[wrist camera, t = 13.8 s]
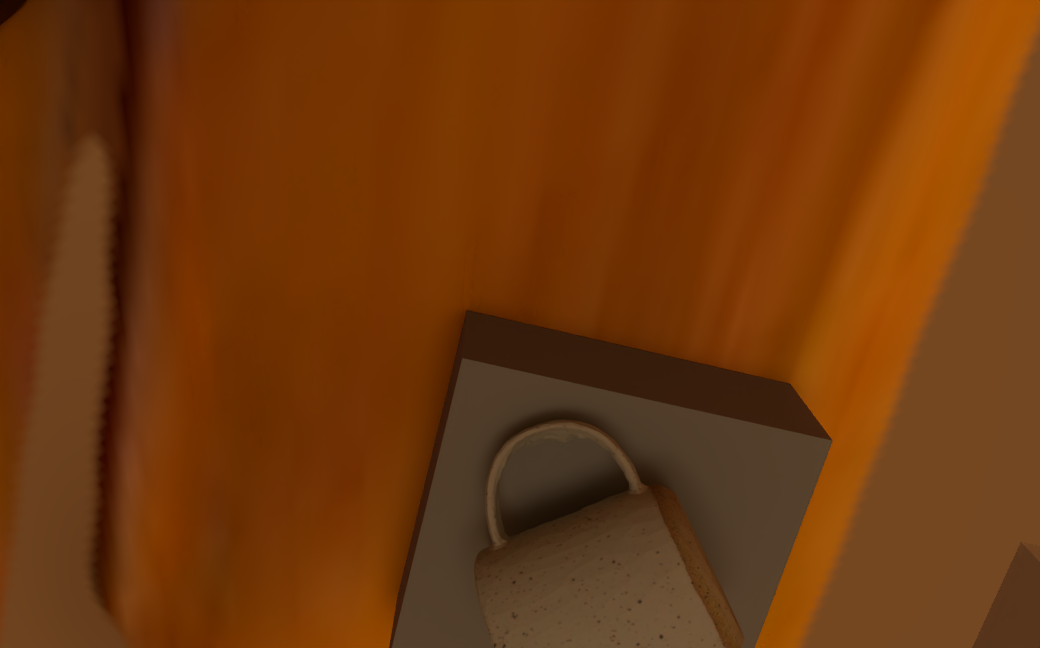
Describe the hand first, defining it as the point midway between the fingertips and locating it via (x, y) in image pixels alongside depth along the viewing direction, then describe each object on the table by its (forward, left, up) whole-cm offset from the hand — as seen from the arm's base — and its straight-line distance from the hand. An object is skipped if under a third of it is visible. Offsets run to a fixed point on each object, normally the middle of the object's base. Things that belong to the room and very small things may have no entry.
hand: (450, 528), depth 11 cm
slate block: (+9, -15, -32) cm, 36 cm away
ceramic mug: (+7, -14, -26) cm, 30 cm away
